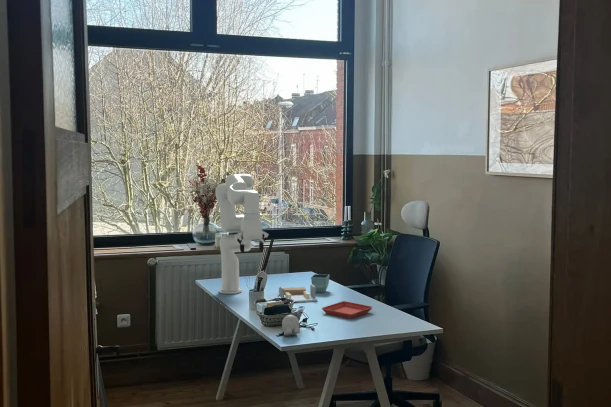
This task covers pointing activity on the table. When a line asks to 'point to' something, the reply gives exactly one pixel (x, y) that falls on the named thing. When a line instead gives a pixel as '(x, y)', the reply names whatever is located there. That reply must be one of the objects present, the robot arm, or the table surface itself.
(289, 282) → the table surface
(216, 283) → the table surface
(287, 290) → the plank
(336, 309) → the plant saucer
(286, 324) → the round bodied animal figurine
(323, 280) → the flower pot
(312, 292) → the peg stand
